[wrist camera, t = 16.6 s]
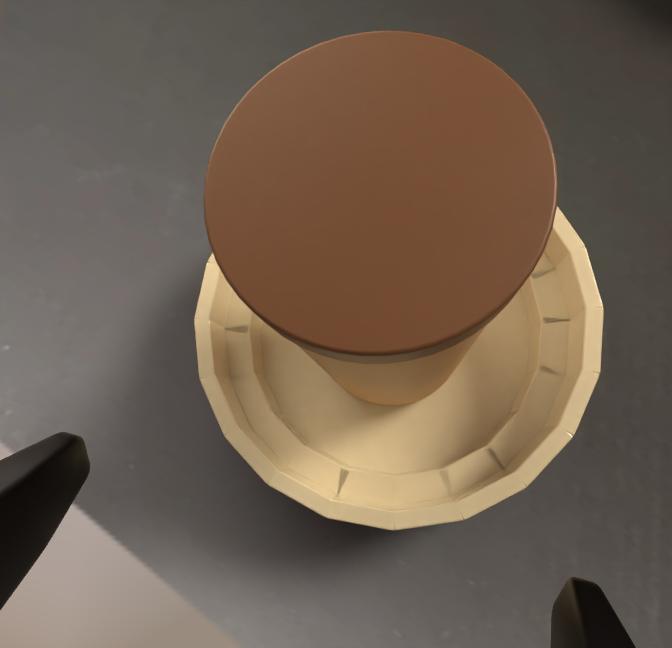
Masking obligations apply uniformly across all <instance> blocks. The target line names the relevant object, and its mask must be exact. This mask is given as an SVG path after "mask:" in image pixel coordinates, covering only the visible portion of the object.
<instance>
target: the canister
mask: <svg viewBox="0 0 672 648" xmlns="http://www.w3.org/2000/svg"><path fill="white" fill-rule="evenodd" d="M557 197H558V176H557V165H556V159H555V155H554V151H553V147H552V143H551V139H550V137H549V134H548V132H547V130H546V127H545V125H544V122H543V120H542V118H541V116H540V115H539V113H538V111H537V110H536V108H535V106H534V105H533V103H532V101H531V100H530V99H529V97H528V96H527V95H526V94H525V92H524V91H523V90H522V89H521V88H520V86H519V85H518V84H517V83H516V82H515V81H514V80H513V79H512V78H511V77H510V76H509V75H507V74H506V73H505V72H504V71H503V70H502V69H501V68H499V67H498V66H496V65H495V64H494V63H492V62H491V61H489V60H488V59H487V58H485V57H483V56H482V55H480V54H478V53H476V52H474V51H472V50H470V49H469V48H467V47H464V46H462V45H459V44H457V43H454V42H451V41H449V40H446V39H442V38H438V37H435V36H431V35H427V34H420V33H413V32H406V31H375V32H364V33H358V34H353V35H348V36H343V37H339V38H336V39H332V40H329V41H326V42H323V43H320V44H318V45H315V46H313V47H311V48H308V49H306V50H304V51H302V52H300V53H298V54H296V55H294V56H293V57H291V58H289V59H288V60H286V61H284V62H282V63H281V64H280V65H278V66H277V67H276V68H274V69H273V70H272V71H270V72H269V73H267V74H266V75H265V76H264V77H263V78H262V79H261V80H259V81H258V82H257V83H256V84H255V85H254V86H253V87H252V88H251V89H250V90H249V91H248V92H247V93H246V95H245V96H244V97H243V98H242V99H241V100H240V102H239V103H238V104H237V105H236V107H235V108H234V110H233V111H232V113H231V114H230V116H229V117H228V119H227V120H226V122H225V124H224V126H223V128H222V130H221V132H220V134H219V136H218V138H217V140H216V142H215V145H214V148H213V151H212V153H211V156H210V159H209V164H208V168H207V173H206V178H205V188H204V216H205V225H206V230H207V235H208V239H209V243H210V246H211V249H212V252H213V254H214V257H215V260H216V262H217V264H218V266H219V268H220V270H221V272H222V274H223V275H224V277H225V279H226V281H227V282H228V284H229V285H230V286H231V288H232V289H233V290H234V292H235V293H236V294H237V296H238V297H239V298H240V299H241V300H242V301H243V302H244V303H245V304H246V306H247V307H248V308H249V309H250V310H251V311H252V312H253V313H254V314H255V315H257V316H258V317H259V318H260V319H261V320H262V321H264V322H265V323H266V324H267V325H268V326H270V327H271V328H272V329H273V330H275V331H276V332H277V333H279V334H280V335H281V336H282V337H284V338H286V339H288V340H289V341H291V342H293V343H295V344H296V345H297V346H299V347H300V348H301V349H302V350H303V351H304V352H305V353H306V354H307V355H308V356H309V357H310V358H312V359H313V360H314V361H315V362H316V363H317V364H318V365H319V366H320V367H321V368H322V369H323V370H324V371H326V372H327V373H328V374H329V375H330V376H331V377H332V378H333V379H334V380H335V381H336V382H337V383H338V384H340V385H341V386H342V387H343V388H344V389H345V390H347V391H348V392H349V393H351V394H352V395H354V396H356V397H357V398H360V399H362V400H364V401H367V402H370V403H374V404H378V405H385V406H397V405H405V404H409V403H413V402H416V401H419V400H421V399H423V398H425V397H427V396H429V395H430V394H432V393H434V392H435V391H436V390H437V389H439V388H440V387H441V386H442V385H443V384H444V383H445V382H446V381H447V380H448V379H449V377H450V376H451V374H452V373H453V372H454V370H455V369H456V368H457V366H458V365H459V363H460V362H461V361H462V359H463V358H464V356H465V355H466V354H467V352H468V351H469V349H470V348H471V347H472V345H473V344H474V342H475V341H476V339H477V338H478V337H479V335H480V334H481V332H482V331H483V330H484V328H485V327H486V325H487V324H488V323H489V322H491V321H492V320H493V319H494V318H495V317H496V316H497V315H498V314H499V313H500V312H501V311H502V310H503V309H504V308H505V307H506V306H507V305H508V304H509V303H510V301H511V300H512V299H513V297H514V296H515V295H516V293H517V292H518V291H519V289H520V288H521V287H522V285H523V284H524V283H525V281H526V280H527V279H528V277H529V276H530V275H531V273H532V272H533V270H534V268H535V267H536V265H537V263H538V261H539V259H540V257H541V255H542V254H543V252H544V250H545V247H546V244H547V242H548V239H549V236H550V234H551V231H552V228H553V223H554V218H555V213H556V209H557Z"/></svg>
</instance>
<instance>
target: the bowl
mask: <svg viewBox="0 0 672 648" xmlns="http://www.w3.org/2000/svg"><path fill="white" fill-rule="evenodd" d="M603 312H604V309H603V305H602V301H601V298H600V294H599V291H598V288H597V284H596V281H595V277H594V274H593V271H592V267H591V264H590V260H589V257H588V254H587V250H586V248H585V245H584V243H583V242H582V241H581V239H580V238H579V236H578V235H577V234H576V232H575V231H574V229H573V228H572V226H571V225H570V224H569V222H568V221H567V219H566V218H565V216H564V215H563V214H562V212H561V211H560V209H559V208H558V206H557V209H556V213H555V218H554V223H553V228H552V231H551V234H550V236H549V239H548V242H547V244H546V247H545V250H544V252H543V254H542V255H541V257H540V259H539V261H538V263H537V265H536V267H535V268H534V270H533V272H532V273H531V275H530V276H529V277H528V279H527V280H526V281H525V283H524V284H523V285H522V287H521V288H520V289H519V291H518V292H517V293H516V295H515V296H514V297H513V299H512V300H511V301H510V303H509V304H508V305H507V306H506V307H505V308H504V309H503V310H502V311H501V312H500V313H499V314H498V315H497V316H496V317H495V318H494V319H493V320H492V321H491V322H489V323H488V324H487V325H486V327H485V328H484V330H483V331H482V332H481V334H480V335H479V337H478V338H477V339H476V341H475V342H474V344H473V345H472V347H471V348H470V349H469V351H468V352H467V354H466V355H465V356H464V358H463V359H462V361H461V362H460V363H459V365H458V366H457V368H456V369H455V370H454V372H453V373H452V374H451V376H450V377H449V379H448V380H447V381H446V382H445V383H444V384H443V385H442V386H441V387H440V388H439V389H437V390H436V391H435V392H434V393H432V394H430V395H429V396H427V397H425V398H423V399H421V400H419V401H416V402H413V403H409V404H405V405H397V406H385V405H378V404H374V403H370V402H367V401H364V400H362V399H360V398H357V397H356V396H354V395H352V394H351V393H349V392H348V391H347V390H345V389H344V388H343V387H342V386H341V385H340V384H338V383H337V382H336V381H335V380H334V379H333V378H332V377H331V376H330V375H329V374H328V373H327V372H326V371H324V370H323V369H322V368H321V367H320V366H319V365H318V364H317V363H316V362H315V361H314V360H313V359H312V358H310V357H309V356H308V355H307V354H306V353H305V352H304V351H303V350H302V349H301V348H300V347H299V346H297V345H296V344H295V343H293V342H291V341H289V340H288V339H286V338H284V337H282V336H281V335H280V334H279V333H277V332H276V331H275V330H273V329H272V328H271V327H270V326H268V325H267V324H266V323H265V322H264V321H262V320H261V319H260V318H259V317H258V316H257V315H255V314H254V313H253V312H252V311H251V310H250V309H249V308H248V307H247V306H246V304H245V303H244V302H243V301H242V300H241V299H240V298H239V297H238V296H237V294H236V293H235V292H234V290H233V289H232V288H231V286H230V285H229V284H228V282H227V281H226V279H225V277H224V275H223V274H222V272H221V270H220V268H219V266H218V264H217V262H216V260H215V257H214V254H213V253H212V254H211V256H210V258H209V260H208V263H207V264H206V268H205V273H204V277H203V282H202V287H201V291H200V296H199V300H198V305H197V309H196V314H195V320H194V325H195V336H196V347H197V358H198V369H199V379H201V380H200V381H201V384H202V386H203V388H204V391H205V393H206V395H207V398H208V400H209V402H210V405H211V407H212V409H213V412H214V414H215V416H216V419H217V421H218V423H219V426H220V428H221V430H222V433H223V435H224V436H225V438H226V439H227V440H228V442H229V443H230V444H231V445H232V446H233V447H234V448H235V449H236V451H237V452H238V453H239V454H240V455H241V456H242V457H243V458H244V459H245V461H246V462H247V463H248V464H249V465H250V466H251V467H252V468H253V470H254V471H255V472H256V473H257V474H258V475H259V476H260V477H261V479H262V480H263V481H264V482H265V483H266V484H268V485H269V486H270V487H272V488H274V489H276V490H277V491H279V492H281V493H283V494H284V495H286V496H288V497H290V498H291V499H293V500H295V501H297V502H298V503H300V504H302V505H304V506H305V507H307V508H309V509H311V510H313V511H314V512H316V513H318V514H320V515H321V516H323V517H326V518H328V519H334V520H339V521H344V522H349V523H355V524H360V525H365V526H370V527H376V528H381V529H386V530H392V531H393V530H403V529H410V528H417V527H423V526H430V525H437V524H444V523H451V522H458V521H462V520H466V519H468V518H470V517H472V516H474V515H476V514H478V513H479V512H481V511H483V510H485V509H487V508H489V507H491V506H493V505H495V504H497V503H499V502H501V501H502V500H504V499H506V498H508V497H510V496H512V495H514V494H516V493H518V492H520V491H522V490H523V489H525V488H526V487H527V486H529V484H530V483H531V482H532V481H533V480H534V479H535V478H536V477H537V476H538V475H539V474H540V473H541V471H542V470H543V469H544V468H545V467H546V466H547V465H548V464H549V463H550V462H551V461H552V460H553V459H554V457H555V456H556V455H557V454H558V453H559V452H560V451H561V450H562V449H563V448H564V447H565V446H566V444H567V443H568V442H569V441H570V440H571V439H572V436H574V435H575V432H576V430H577V428H578V425H579V423H580V420H581V418H582V416H583V413H584V411H585V409H586V406H587V404H588V402H589V399H590V397H591V394H592V392H593V390H594V387H595V385H596V383H597V380H598V378H599V374H600V368H601V350H602V331H603Z"/></svg>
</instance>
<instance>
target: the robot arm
mask: <svg viewBox="0 0 672 648" xmlns="http://www.w3.org/2000/svg"><path fill="white" fill-rule="evenodd" d="M89 471H90V462H89V459H88V455H87V451H86V447H85V443H84V440H83V439H82V438H81V437H80V436H77V435H73V434H70V433H66V432H60V433H57V434H55V435H52V436H50V437H48V438H46V439H44V440H42V441H40V442H38V443H36V444H34V445H32V446H29V447H27V448H25V449H23V450H21V451H19V452H17V453H15V454H13V455H11V456H9V457H6V458H4V459H2V460H0V610H1V609H2V607H3V606H4V604H5V603H6V602H7V600H8V599H9V598H10V596H11V595H12V594H13V592H14V591H15V589H16V588H17V587H18V585H19V584H20V582H21V581H22V580H23V578H24V577H25V576H26V574H27V573H28V571H29V570H30V569H31V567H32V566H33V565H34V563H35V562H36V560H37V559H38V558H39V556H40V554H41V553H42V552H43V550H44V549H45V547H46V546H47V544H48V543H49V541H50V539H51V538H52V536H53V534H54V533H55V531H56V529H57V528H58V526H59V524H60V523H61V521H62V519H63V518H64V516H65V514H66V512H67V511H68V509H69V507H70V506H71V504H72V502H73V501H74V499H75V497H76V496H77V494H78V492H79V491H80V489H81V487H82V485H83V484H84V482H85V480H86V479H87V477H88V474H89ZM551 648H636V647H635V645H634V644H633V642H632V640H631V639H630V637H629V635H628V634H627V632H626V630H625V628H624V627H623V625H622V623H621V622H620V620H619V618H618V617H617V615H616V613H615V611H614V610H613V608H612V606H611V605H610V603H609V601H608V600H607V598H606V596H605V595H604V593H603V591H602V590H601V588H600V587H599V586H598V585H597V584H595V583H594V582H590V581H587V580H583V579H580V578H576V577H571V578H569V579H568V580H567V582H566V584H565V585H564V587H563V589H562V590H561V592H560V594H559V596H558V597H557V599H556V601H555V603H554V605H553V609H552V619H551Z"/></svg>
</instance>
